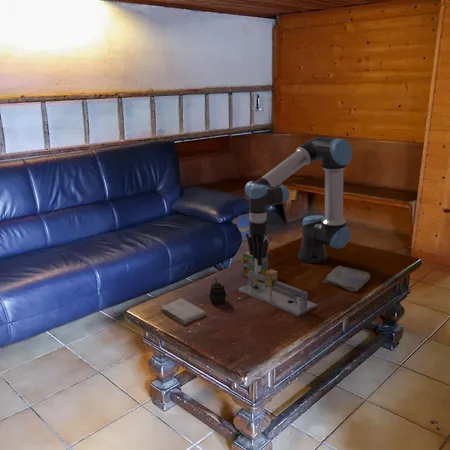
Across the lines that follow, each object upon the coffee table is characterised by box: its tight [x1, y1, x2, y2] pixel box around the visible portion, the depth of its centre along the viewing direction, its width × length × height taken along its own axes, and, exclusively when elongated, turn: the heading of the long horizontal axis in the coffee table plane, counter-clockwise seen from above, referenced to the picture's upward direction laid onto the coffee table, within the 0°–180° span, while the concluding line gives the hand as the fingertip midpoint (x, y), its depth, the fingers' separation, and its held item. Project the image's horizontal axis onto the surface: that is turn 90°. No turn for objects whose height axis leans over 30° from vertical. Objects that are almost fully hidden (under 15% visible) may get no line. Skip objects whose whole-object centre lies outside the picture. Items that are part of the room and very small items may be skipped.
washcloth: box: [159, 298, 207, 325], centre depth 194 cm, size 12×18×3 cm, turn 43°
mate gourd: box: [209, 276, 227, 305], centre depth 202 cm, size 7×8×10 cm
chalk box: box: [241, 250, 269, 278], centre depth 228 cm, size 9×9×15 cm
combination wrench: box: [265, 286, 300, 300], centre depth 208 cm, size 4×1×20 cm
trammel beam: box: [238, 271, 317, 317], centre depth 204 cm, size 12×34×8 cm, turn 43°
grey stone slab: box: [322, 265, 371, 292], centre depth 221 cm, size 20×5×17 cm
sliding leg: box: [264, 269, 278, 293], centre depth 205 cm, size 4×4×10 cm
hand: (257, 271), depth 210 cm, fingers closed
